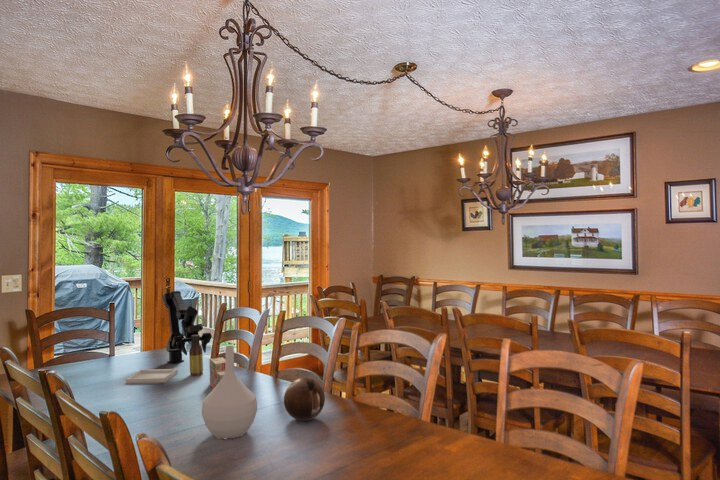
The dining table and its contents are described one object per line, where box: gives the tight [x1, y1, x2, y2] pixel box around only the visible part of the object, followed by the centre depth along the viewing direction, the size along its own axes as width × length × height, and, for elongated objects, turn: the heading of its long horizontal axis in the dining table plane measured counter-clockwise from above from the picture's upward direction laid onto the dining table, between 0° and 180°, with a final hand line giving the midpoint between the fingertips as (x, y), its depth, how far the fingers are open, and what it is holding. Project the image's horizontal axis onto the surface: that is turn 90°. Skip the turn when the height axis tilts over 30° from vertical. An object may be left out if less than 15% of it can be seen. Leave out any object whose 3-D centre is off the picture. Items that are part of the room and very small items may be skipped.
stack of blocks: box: [209, 356, 225, 390], centre depth 222 cm, size 21×6×12 cm, turn 28°
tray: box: [125, 368, 178, 385], centre depth 240 cm, size 18×18×2 cm
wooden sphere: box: [283, 377, 326, 422], centre depth 182 cm, size 15×15×15 cm
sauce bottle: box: [188, 334, 204, 377], centre depth 247 cm, size 7×6×20 cm
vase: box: [201, 345, 258, 440], centre depth 169 cm, size 18×18×30 cm
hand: (195, 353), depth 247 cm, fingers open, 9 cm apart
